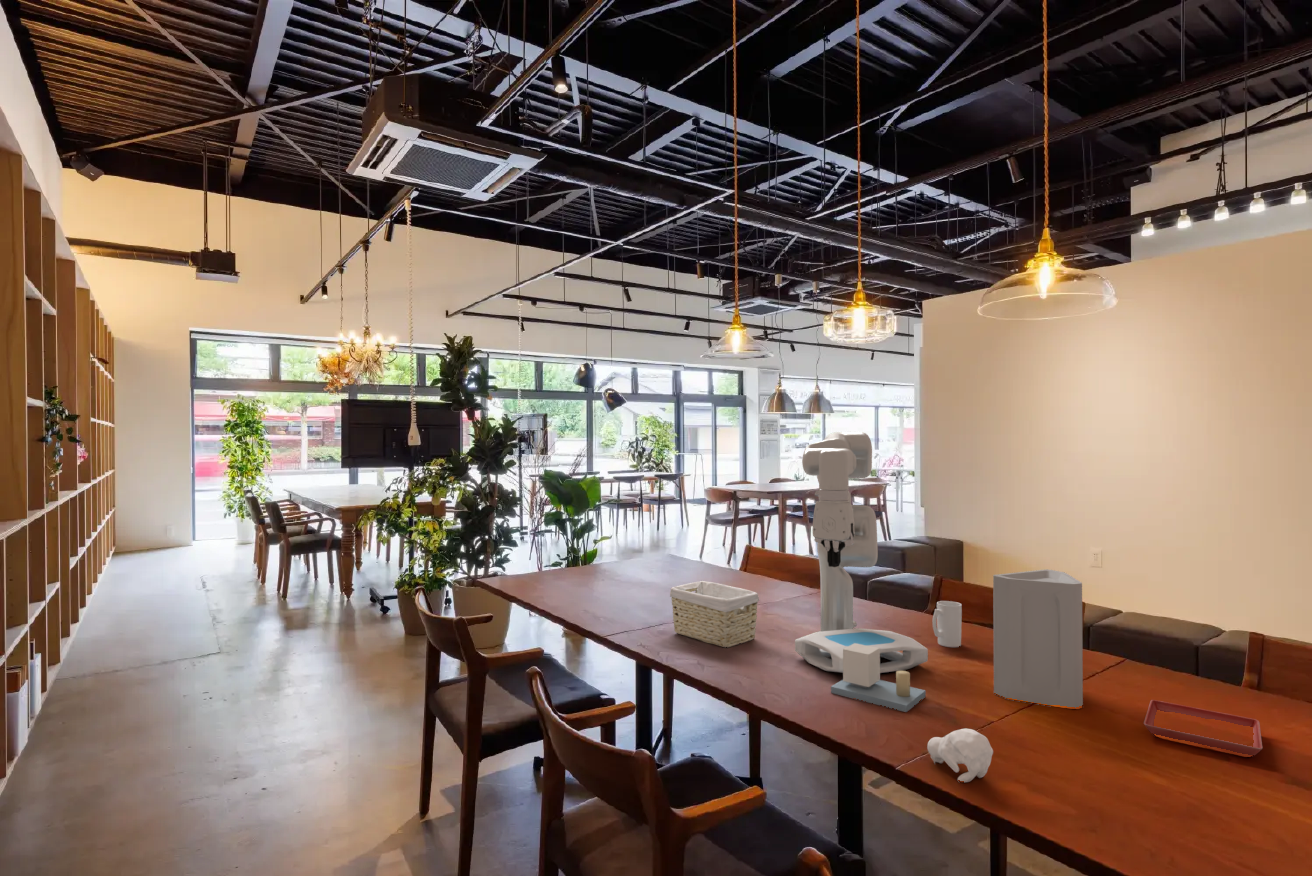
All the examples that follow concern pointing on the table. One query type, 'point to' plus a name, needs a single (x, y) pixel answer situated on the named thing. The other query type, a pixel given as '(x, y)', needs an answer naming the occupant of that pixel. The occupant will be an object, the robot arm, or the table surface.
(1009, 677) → the grey triangular planter
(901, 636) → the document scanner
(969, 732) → the white animal figure
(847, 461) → the robot arm
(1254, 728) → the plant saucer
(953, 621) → the mug
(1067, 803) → the table surface
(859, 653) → the matte white cube
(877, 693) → the slate board
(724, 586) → the storage basket
